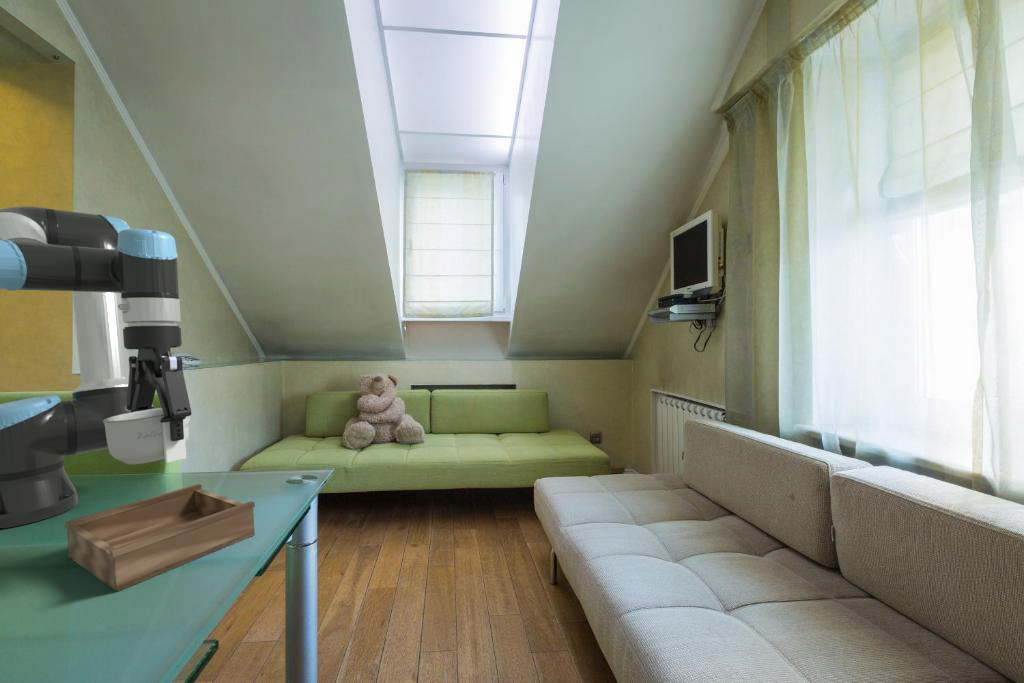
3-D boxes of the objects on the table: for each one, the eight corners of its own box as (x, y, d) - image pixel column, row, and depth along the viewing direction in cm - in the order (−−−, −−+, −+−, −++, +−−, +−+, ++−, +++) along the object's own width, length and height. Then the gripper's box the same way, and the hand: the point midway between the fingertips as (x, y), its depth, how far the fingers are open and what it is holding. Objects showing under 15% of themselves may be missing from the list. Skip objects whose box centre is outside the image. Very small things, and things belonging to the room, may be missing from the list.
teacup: (142, 471, 67) (139, 418, 67) (87, 468, 69) (84, 417, 69) (221, 446, 81) (218, 402, 80) (172, 444, 83) (170, 401, 83)
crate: (67, 557, 72) (64, 522, 72) (200, 512, 89) (198, 483, 89) (115, 592, 62) (112, 552, 61) (256, 534, 78) (254, 502, 78)
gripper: (97, 326, 77) (105, 452, 77) (155, 323, 65) (164, 472, 65) (149, 326, 83) (156, 442, 84) (212, 322, 71) (219, 458, 72)
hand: (160, 455), depth 75 cm, fingers closed on teacup, 11 cm apart
